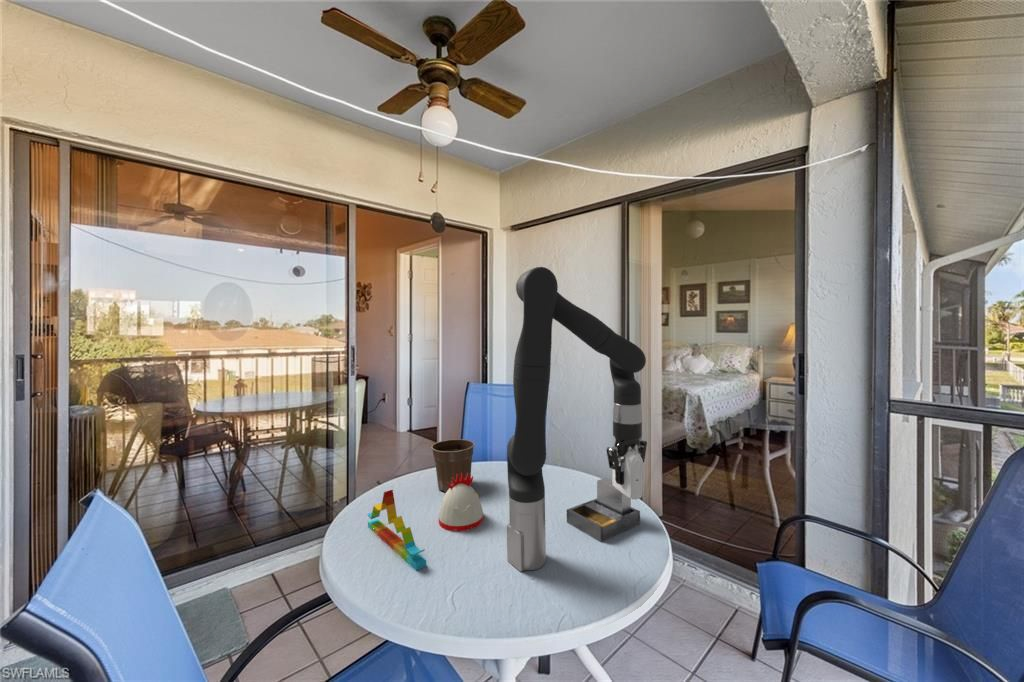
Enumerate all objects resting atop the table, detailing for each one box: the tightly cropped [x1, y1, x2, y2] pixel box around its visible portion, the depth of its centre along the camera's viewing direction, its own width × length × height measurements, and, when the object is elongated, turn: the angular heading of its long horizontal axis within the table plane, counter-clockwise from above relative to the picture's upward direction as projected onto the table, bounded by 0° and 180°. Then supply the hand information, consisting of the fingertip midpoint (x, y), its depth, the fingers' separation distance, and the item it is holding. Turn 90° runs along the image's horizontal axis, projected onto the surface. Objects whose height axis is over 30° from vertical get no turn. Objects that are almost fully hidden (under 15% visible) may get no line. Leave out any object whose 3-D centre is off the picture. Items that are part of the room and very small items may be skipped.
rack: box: [566, 477, 641, 543], centre depth 125 cm, size 17×14×11 cm
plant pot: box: [431, 438, 475, 493], centre depth 155 cm, size 16×16×16 cm
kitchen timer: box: [438, 473, 484, 532], centre depth 129 cm, size 14×14×15 cm
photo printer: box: [611, 448, 644, 500], centre depth 111 cm, size 10×4×12 cm, turn 17°
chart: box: [367, 489, 427, 571], centre depth 115 cm, size 30×3×15 cm, turn 41°
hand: (627, 481), depth 111 cm, fingers closed on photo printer, 5 cm apart
